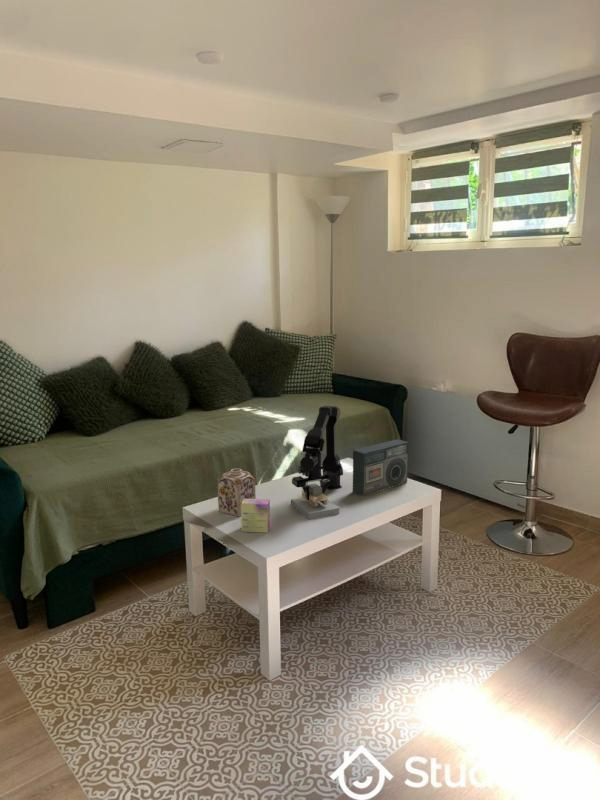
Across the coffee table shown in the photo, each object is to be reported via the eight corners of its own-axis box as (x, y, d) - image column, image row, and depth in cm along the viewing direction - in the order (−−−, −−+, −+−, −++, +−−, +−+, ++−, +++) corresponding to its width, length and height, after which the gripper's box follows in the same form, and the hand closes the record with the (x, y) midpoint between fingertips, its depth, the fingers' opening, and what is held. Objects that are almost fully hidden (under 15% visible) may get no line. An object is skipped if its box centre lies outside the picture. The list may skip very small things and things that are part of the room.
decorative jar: (239, 517, 248) (238, 476, 245) (217, 512, 255) (216, 471, 251) (256, 508, 258) (256, 468, 255) (235, 503, 264) (234, 463, 261)
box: (270, 527, 239) (269, 498, 237) (268, 533, 234) (267, 504, 231) (244, 526, 240) (243, 498, 238) (241, 532, 235) (240, 503, 232)
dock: (319, 499, 268) (319, 493, 268) (339, 513, 252) (339, 507, 252) (290, 504, 262) (290, 498, 262) (308, 519, 246) (308, 513, 246)
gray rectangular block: (315, 490, 259) (315, 483, 259) (321, 494, 254) (321, 487, 253) (307, 491, 258) (307, 484, 257) (313, 496, 252) (313, 489, 252)
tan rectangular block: (314, 495, 263) (314, 487, 262) (327, 504, 253) (327, 496, 252) (302, 497, 261) (302, 489, 260) (314, 506, 250) (314, 498, 249)
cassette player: (363, 496, 272) (364, 453, 268) (352, 492, 278) (353, 450, 273) (407, 482, 290) (408, 442, 286) (396, 478, 295) (397, 439, 291)
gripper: (325, 455, 264) (325, 489, 267) (286, 460, 257) (286, 495, 260) (337, 462, 254) (337, 497, 258) (297, 468, 247) (297, 504, 250)
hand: (314, 498), depth 256 cm, fingers closed on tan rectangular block, 6 cm apart
